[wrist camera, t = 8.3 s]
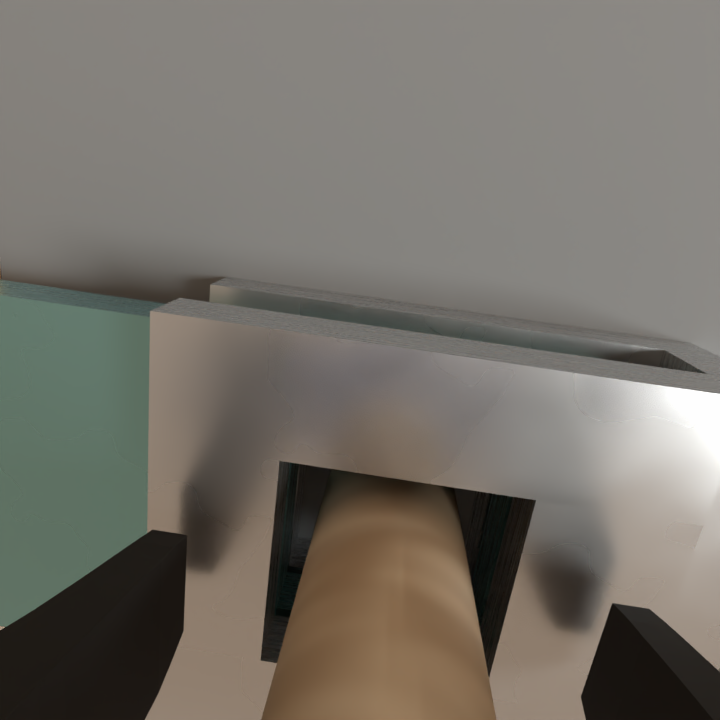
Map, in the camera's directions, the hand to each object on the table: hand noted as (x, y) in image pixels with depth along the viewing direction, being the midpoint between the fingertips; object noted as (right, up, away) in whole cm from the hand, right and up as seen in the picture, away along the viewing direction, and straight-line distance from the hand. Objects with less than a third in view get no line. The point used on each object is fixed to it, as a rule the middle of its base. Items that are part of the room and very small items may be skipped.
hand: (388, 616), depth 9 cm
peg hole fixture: (-1, +2, +5) cm, 5 cm away
